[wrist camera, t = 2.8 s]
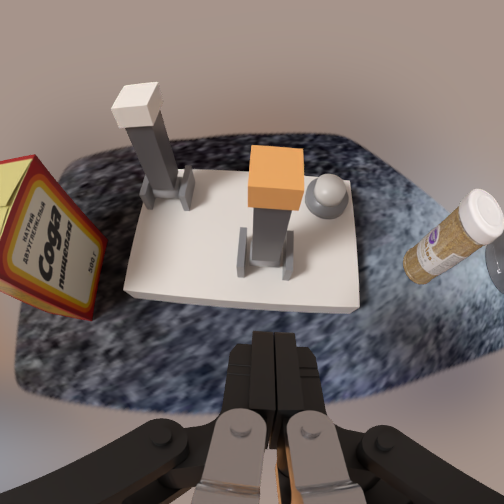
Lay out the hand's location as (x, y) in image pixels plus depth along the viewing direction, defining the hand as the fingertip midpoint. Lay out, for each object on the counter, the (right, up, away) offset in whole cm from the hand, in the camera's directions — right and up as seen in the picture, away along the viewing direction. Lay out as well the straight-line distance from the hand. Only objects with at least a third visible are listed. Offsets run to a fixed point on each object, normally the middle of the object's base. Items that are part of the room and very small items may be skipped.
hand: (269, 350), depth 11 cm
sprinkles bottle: (+18, +2, +20) cm, 27 cm away
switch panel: (-1, +5, +21) cm, 21 cm away
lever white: (-9, +10, +19) cm, 23 cm away
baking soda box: (-21, +1, +19) cm, 28 cm away
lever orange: (0, +3, +16) cm, 17 cm away
